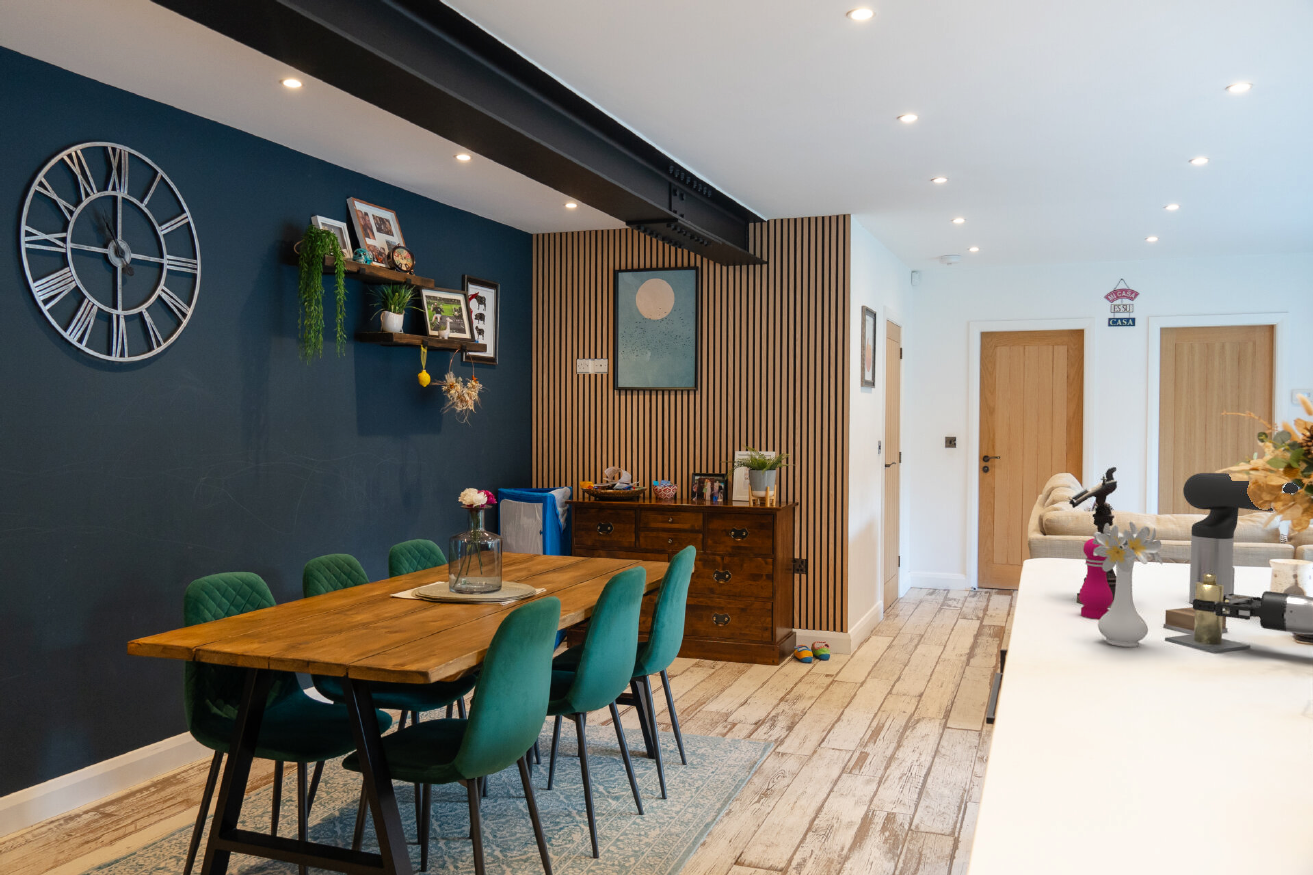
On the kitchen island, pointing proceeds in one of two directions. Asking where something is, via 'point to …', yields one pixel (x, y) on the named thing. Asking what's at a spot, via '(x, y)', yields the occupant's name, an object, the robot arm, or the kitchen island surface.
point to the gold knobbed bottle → (1208, 622)
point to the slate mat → (1213, 648)
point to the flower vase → (1124, 581)
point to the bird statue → (1100, 514)
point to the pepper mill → (1095, 584)
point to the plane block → (1184, 620)
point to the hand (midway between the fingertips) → (1197, 600)
